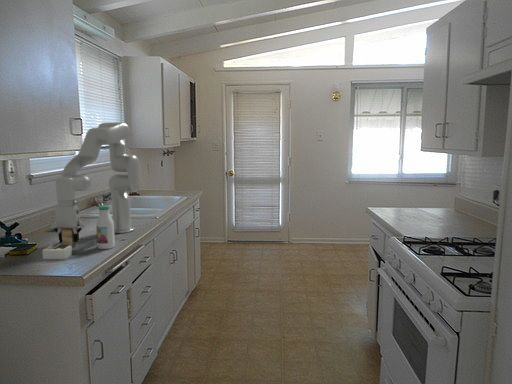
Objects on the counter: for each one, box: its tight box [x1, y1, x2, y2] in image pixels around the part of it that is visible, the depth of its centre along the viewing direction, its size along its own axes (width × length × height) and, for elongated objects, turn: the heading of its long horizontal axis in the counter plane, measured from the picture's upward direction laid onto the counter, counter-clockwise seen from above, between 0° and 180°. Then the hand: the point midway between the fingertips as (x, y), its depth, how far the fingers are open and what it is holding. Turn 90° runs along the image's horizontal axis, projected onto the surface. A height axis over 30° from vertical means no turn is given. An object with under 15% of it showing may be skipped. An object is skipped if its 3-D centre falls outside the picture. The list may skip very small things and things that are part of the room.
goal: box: [42, 245, 73, 260], centre depth 171 cm, size 7×9×4 cm
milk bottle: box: [95, 204, 116, 250], centre depth 184 cm, size 8×8×20 cm
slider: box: [61, 228, 76, 246], centre depth 181 cm, size 4×5×8 cm
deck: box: [52, 240, 94, 255], centre depth 182 cm, size 16×15×2 cm
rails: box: [53, 244, 79, 249], centre depth 178 cm, size 8×9×1 cm
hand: (69, 241), depth 182 cm, fingers open, 6 cm apart
